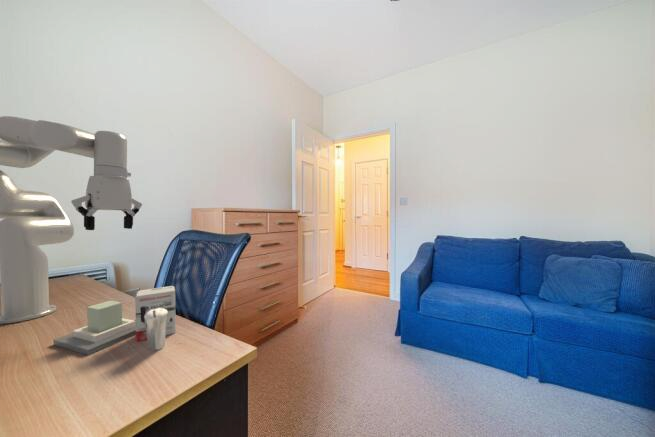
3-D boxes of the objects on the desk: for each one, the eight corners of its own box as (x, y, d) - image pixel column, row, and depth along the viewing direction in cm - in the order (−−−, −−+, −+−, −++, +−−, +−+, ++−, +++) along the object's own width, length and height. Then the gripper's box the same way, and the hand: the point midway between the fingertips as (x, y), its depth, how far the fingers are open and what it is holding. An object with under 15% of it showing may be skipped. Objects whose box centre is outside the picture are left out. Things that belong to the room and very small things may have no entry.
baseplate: (53, 344, 59) (53, 333, 59) (119, 320, 72) (118, 311, 72) (88, 355, 55) (88, 343, 54) (151, 327, 68) (151, 318, 68)
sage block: (87, 334, 62) (87, 307, 62) (110, 325, 67) (110, 300, 67) (99, 337, 60) (99, 309, 60) (122, 328, 65) (121, 302, 65)
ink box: (135, 342, 60) (134, 295, 60) (137, 334, 64) (136, 290, 64) (176, 333, 64) (175, 289, 64) (175, 326, 69) (174, 285, 68)
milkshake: (142, 356, 54) (141, 312, 54) (147, 345, 58) (146, 304, 58) (166, 351, 56) (165, 308, 56) (169, 340, 61) (168, 301, 60)
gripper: (134, 178, 83) (133, 227, 83) (65, 168, 67) (64, 230, 67) (148, 177, 80) (147, 228, 81) (80, 167, 64) (79, 231, 65)
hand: (110, 229), depth 74 cm, fingers open, 9 cm apart
